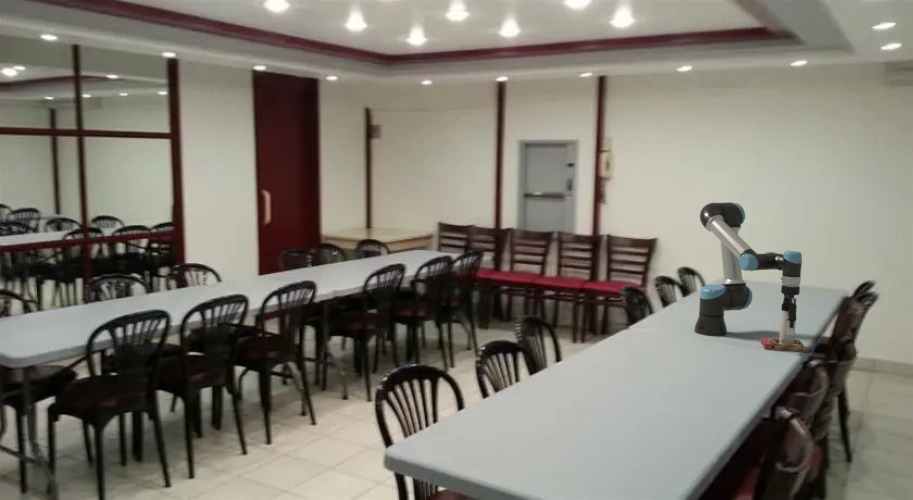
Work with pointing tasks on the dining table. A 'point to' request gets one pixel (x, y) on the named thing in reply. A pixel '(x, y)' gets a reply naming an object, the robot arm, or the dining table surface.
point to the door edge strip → (766, 343)
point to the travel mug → (785, 327)
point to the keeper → (787, 346)
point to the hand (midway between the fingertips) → (787, 331)
